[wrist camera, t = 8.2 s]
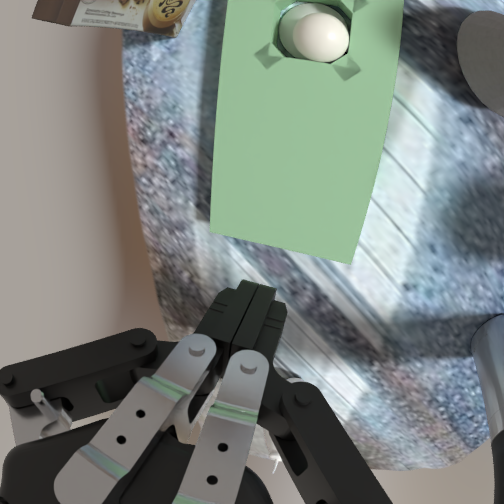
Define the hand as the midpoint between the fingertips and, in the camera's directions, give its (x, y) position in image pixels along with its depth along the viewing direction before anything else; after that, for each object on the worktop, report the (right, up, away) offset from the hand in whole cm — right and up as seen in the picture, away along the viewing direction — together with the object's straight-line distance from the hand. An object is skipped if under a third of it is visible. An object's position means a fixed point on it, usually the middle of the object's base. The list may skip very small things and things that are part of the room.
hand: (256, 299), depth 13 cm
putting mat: (+5, +17, +14) cm, 22 cm away
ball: (+6, +21, +8) cm, 23 cm away
